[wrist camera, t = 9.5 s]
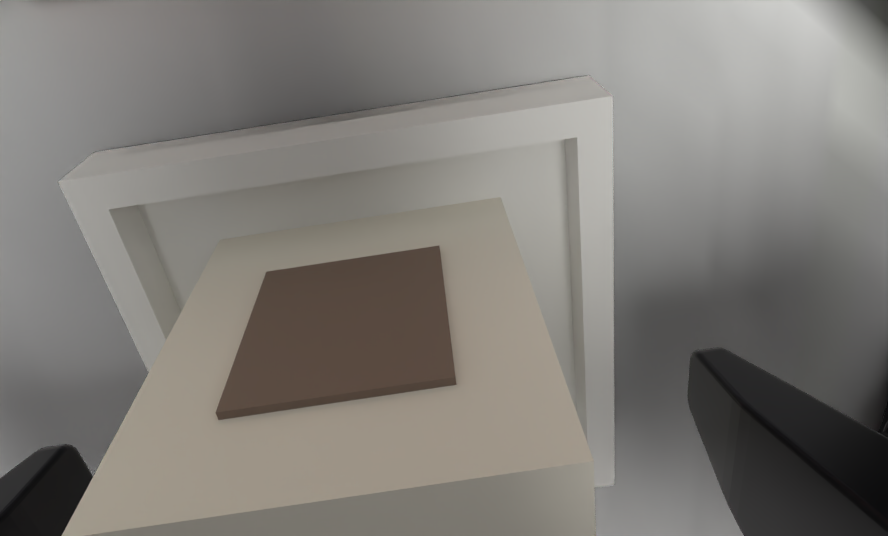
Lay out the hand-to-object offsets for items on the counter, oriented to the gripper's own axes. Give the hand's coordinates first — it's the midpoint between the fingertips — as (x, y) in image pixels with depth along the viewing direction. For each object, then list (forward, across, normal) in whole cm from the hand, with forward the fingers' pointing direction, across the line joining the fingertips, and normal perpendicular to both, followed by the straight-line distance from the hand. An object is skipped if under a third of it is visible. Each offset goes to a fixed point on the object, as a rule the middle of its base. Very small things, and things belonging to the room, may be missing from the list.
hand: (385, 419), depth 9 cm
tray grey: (+3, 0, 0) cm, 3 cm away
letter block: (+2, 0, 0) cm, 2 cm away
